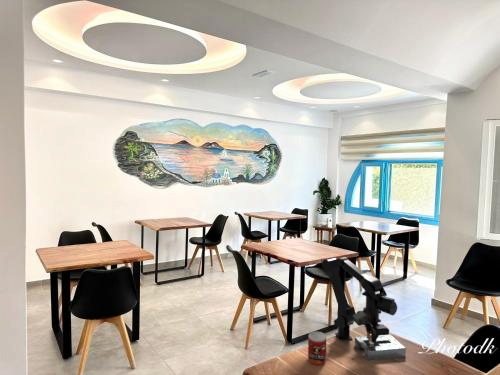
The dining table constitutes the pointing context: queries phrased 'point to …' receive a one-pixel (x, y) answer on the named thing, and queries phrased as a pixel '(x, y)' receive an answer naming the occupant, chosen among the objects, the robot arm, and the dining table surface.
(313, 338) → the canned food
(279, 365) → the dining table surface
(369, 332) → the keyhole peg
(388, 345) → the keyhole plate
